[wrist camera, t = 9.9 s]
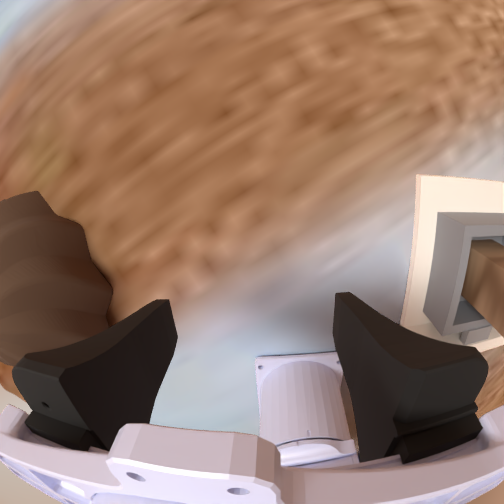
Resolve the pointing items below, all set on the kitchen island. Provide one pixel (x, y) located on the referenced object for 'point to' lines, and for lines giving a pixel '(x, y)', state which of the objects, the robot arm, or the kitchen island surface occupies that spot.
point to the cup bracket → (450, 257)
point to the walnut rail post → (486, 281)
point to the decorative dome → (46, 280)
